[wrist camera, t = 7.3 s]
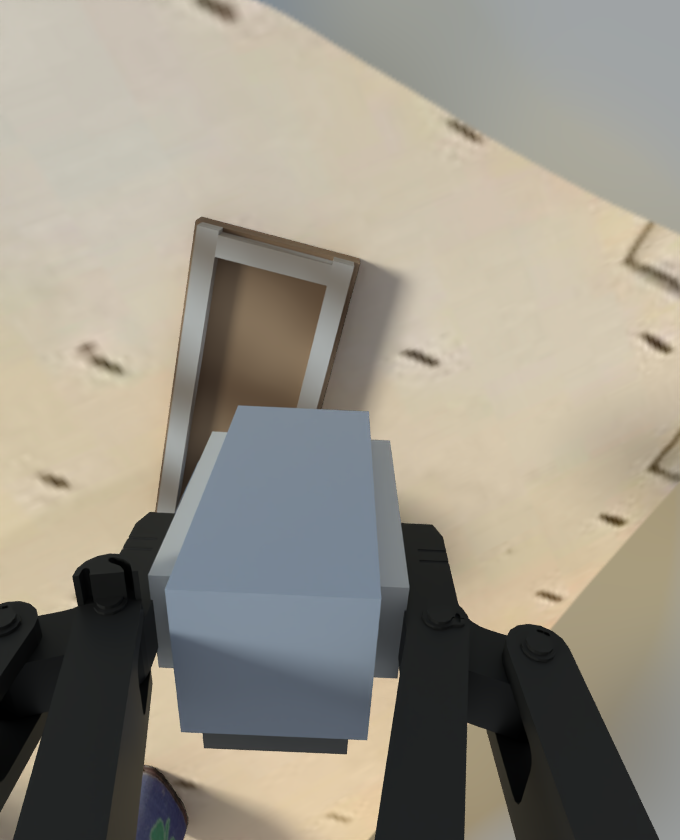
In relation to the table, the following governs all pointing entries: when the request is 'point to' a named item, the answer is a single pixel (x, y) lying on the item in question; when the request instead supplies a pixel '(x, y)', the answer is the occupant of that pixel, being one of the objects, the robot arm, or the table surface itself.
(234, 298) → the rail board
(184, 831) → the flask
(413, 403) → the table surface
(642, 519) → the table surface
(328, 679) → the blue-grey rectangular block
